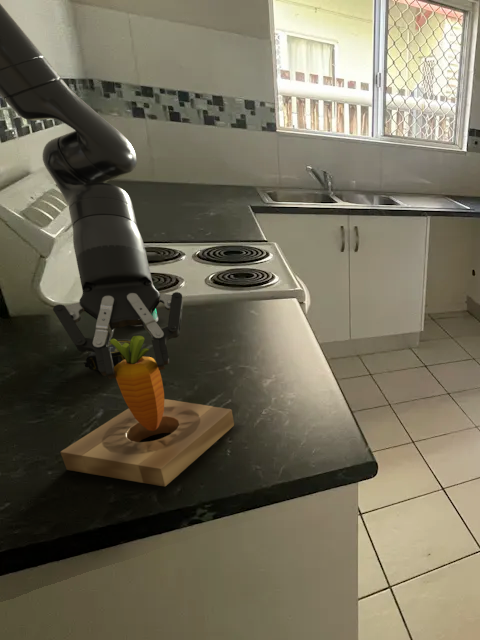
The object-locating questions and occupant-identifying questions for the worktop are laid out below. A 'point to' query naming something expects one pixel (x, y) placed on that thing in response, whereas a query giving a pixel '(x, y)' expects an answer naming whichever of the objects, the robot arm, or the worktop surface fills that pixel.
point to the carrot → (140, 383)
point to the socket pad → (149, 444)
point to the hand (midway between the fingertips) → (137, 371)
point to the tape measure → (116, 355)
